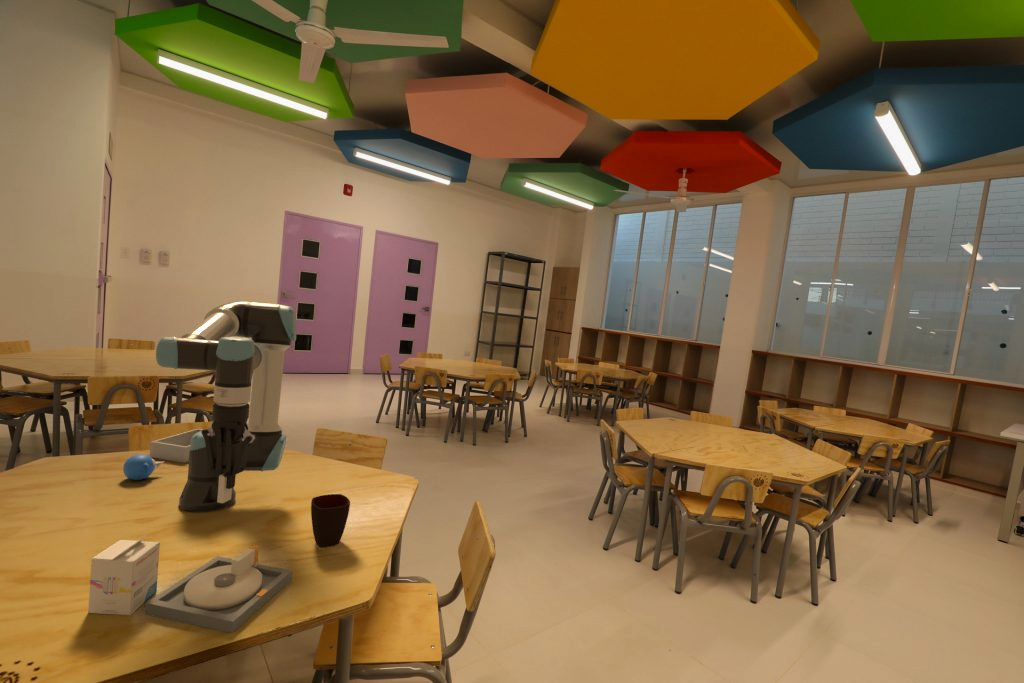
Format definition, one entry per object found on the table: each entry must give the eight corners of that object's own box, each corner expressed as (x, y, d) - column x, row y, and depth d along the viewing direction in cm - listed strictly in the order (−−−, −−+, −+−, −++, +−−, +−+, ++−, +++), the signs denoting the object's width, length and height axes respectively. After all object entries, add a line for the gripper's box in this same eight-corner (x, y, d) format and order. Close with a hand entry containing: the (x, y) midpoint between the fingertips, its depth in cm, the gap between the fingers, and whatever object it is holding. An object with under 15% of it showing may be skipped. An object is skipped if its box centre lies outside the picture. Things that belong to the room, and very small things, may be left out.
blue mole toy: (172, 478, 168) (173, 454, 167) (130, 487, 158) (132, 461, 157) (156, 469, 174) (158, 446, 174) (116, 477, 164) (117, 452, 164)
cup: (313, 554, 129) (317, 510, 129) (300, 532, 140) (304, 492, 140) (350, 546, 135) (354, 505, 135) (335, 526, 146) (338, 487, 146)
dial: (230, 615, 99) (232, 591, 99) (165, 602, 102) (167, 578, 101) (282, 572, 117) (284, 551, 116) (226, 561, 119) (227, 540, 119)
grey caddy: (149, 457, 185) (150, 441, 185) (196, 442, 208) (197, 428, 208) (184, 462, 183) (185, 447, 183) (228, 447, 206) (229, 433, 206)
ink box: (117, 589, 106) (121, 530, 106) (157, 591, 107) (161, 533, 106) (86, 613, 98) (90, 550, 97) (130, 616, 98) (134, 552, 98)
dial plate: (144, 614, 99) (145, 602, 99) (216, 565, 119) (217, 555, 119) (232, 633, 97) (233, 620, 97) (291, 580, 117) (292, 569, 116)
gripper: (194, 402, 111) (187, 502, 112) (246, 409, 109) (237, 511, 110) (218, 397, 118) (211, 491, 119) (267, 404, 116) (259, 499, 118)
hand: (224, 500), depth 115 cm, fingers closed
